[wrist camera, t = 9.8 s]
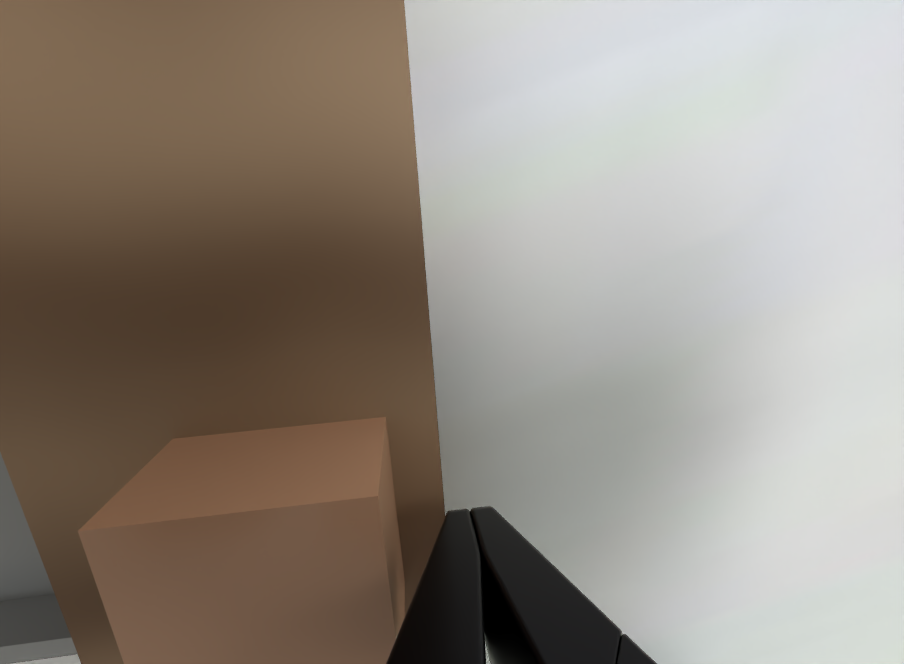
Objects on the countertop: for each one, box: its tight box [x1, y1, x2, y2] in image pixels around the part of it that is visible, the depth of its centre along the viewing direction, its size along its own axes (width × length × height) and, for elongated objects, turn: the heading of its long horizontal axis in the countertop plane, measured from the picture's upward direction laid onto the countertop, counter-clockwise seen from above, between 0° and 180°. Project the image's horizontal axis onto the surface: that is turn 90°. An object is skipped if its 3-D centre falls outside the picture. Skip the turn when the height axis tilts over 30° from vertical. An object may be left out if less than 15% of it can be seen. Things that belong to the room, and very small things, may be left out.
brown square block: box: [78, 417, 405, 664], centre depth 8 cm, size 4×4×2 cm
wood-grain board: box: [0, 0, 445, 664], centre depth 9 cm, size 15×8×2 cm, turn 4°
